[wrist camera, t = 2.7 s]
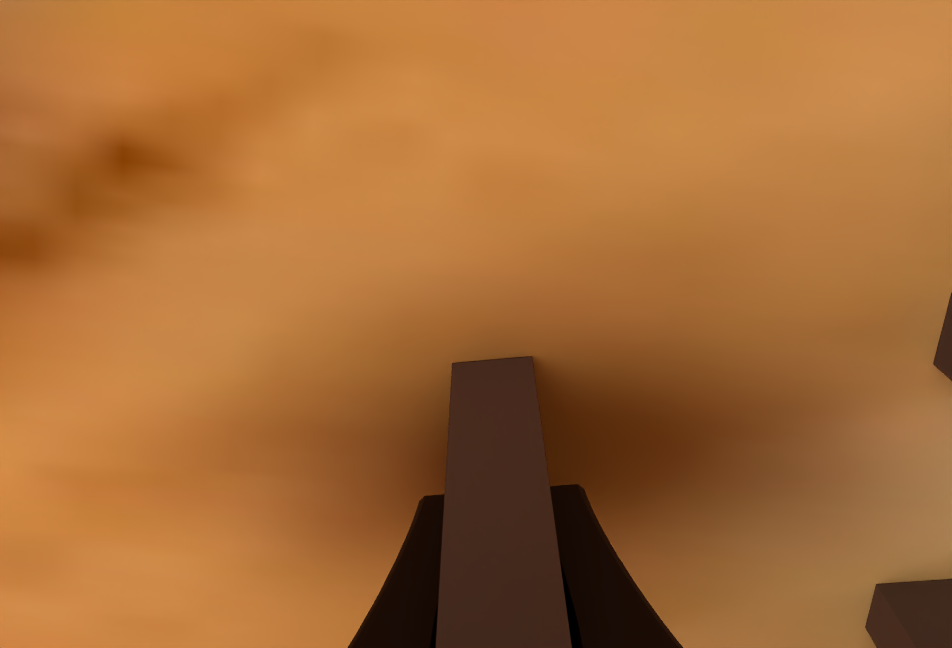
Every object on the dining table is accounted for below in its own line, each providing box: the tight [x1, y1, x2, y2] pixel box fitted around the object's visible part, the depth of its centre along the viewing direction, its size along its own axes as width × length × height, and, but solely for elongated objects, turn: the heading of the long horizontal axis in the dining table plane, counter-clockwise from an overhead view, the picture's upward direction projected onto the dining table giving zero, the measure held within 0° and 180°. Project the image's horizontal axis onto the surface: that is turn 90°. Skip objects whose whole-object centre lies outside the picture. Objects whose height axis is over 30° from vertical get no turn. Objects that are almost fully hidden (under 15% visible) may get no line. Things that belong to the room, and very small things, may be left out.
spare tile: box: [436, 357, 572, 648], centre depth 12 cm, size 2×4×7 cm, turn 6°
